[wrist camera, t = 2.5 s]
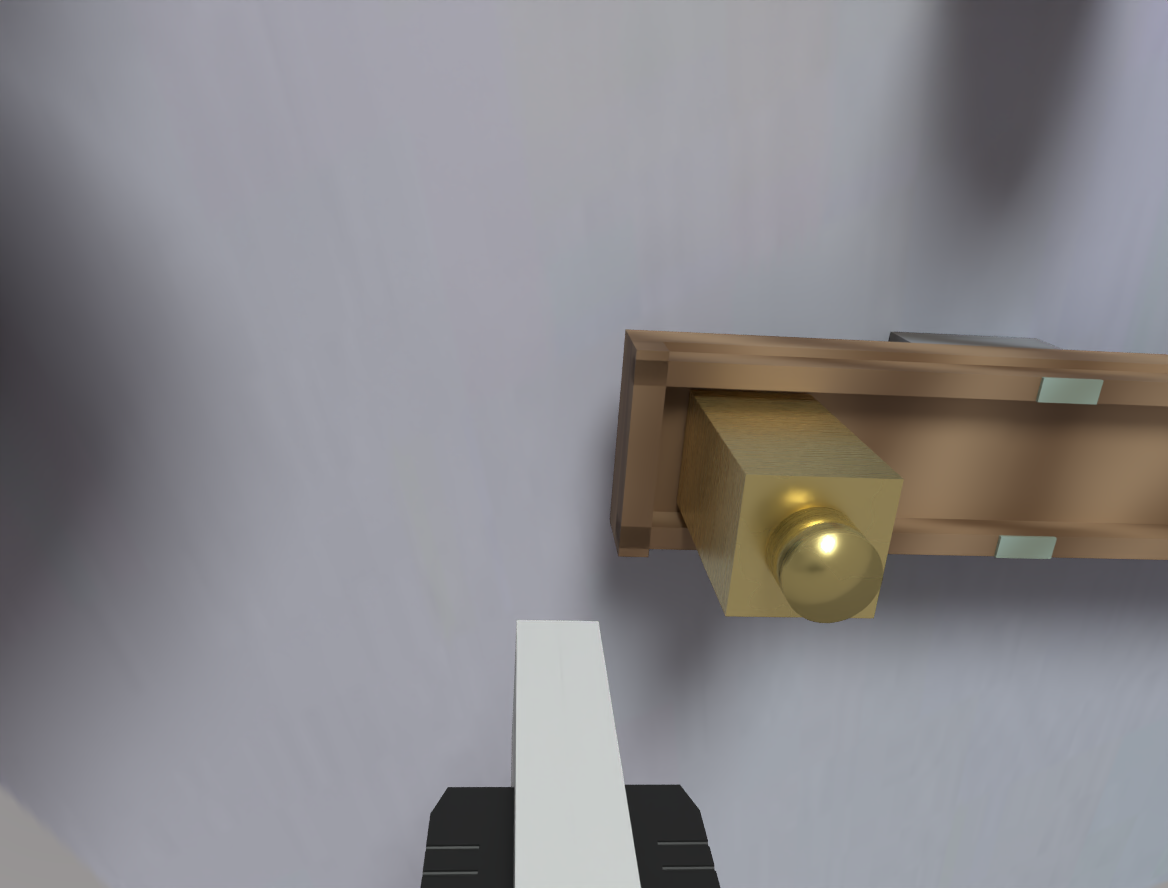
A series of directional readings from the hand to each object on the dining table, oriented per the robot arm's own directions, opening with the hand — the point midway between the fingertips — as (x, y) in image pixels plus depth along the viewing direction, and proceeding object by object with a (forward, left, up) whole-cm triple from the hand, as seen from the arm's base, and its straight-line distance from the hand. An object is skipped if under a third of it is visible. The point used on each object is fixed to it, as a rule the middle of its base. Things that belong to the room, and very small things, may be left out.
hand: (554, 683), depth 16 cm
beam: (+17, 0, -18) cm, 25 cm away
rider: (+7, 0, -12) cm, 14 cm away
